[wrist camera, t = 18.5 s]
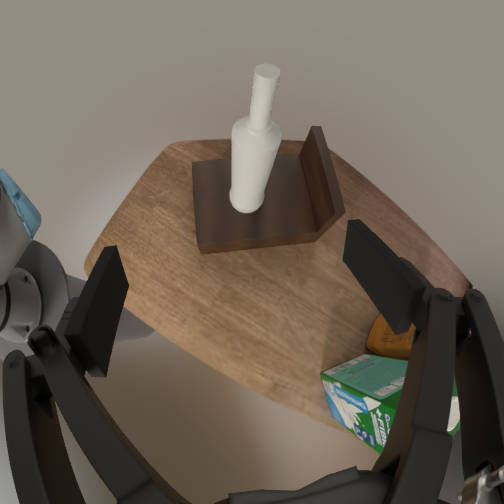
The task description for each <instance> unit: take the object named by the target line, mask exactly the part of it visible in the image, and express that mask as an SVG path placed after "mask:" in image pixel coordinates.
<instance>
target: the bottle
mask: <svg viewBox="0 0 504 504" xmlns="http://www.w3.org/2000/svg"><path fill="white" fill-rule="evenodd" d="M280 74H281V71H280V69H279V68H278V67H276V66H274V65H272V64H260V65H258V66H256V68H255V72H254V79H253V92H252V100H251V108H250V115H248V116H245V117H242V118H240V119H239V120H238V121H237V122H235V124H234V126H233V128H232V187H231V189H230V202H231V203H232V205H233V207H234V208H235V209H236V210H238V211H239V212H243V213H251V212H254V211H256V210H257V209H258V208H259V207H260V206H261V205H262V203H263V200H264V190H265V187H266V184H267V181H268V178H269V175H270V172H271V169H272V166H273V163H274V160H275V157H276V154H277V151H278V148H279V145H280V142H281V139H282V131H281V128H280V127H279V126H278V124H277V123H276V122H275V121H273V120H272V119H270V117H271V112H272V107H273V103H274V98H275V94H276V90H277V87H278V83H279V79H280Z"/></svg>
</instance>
